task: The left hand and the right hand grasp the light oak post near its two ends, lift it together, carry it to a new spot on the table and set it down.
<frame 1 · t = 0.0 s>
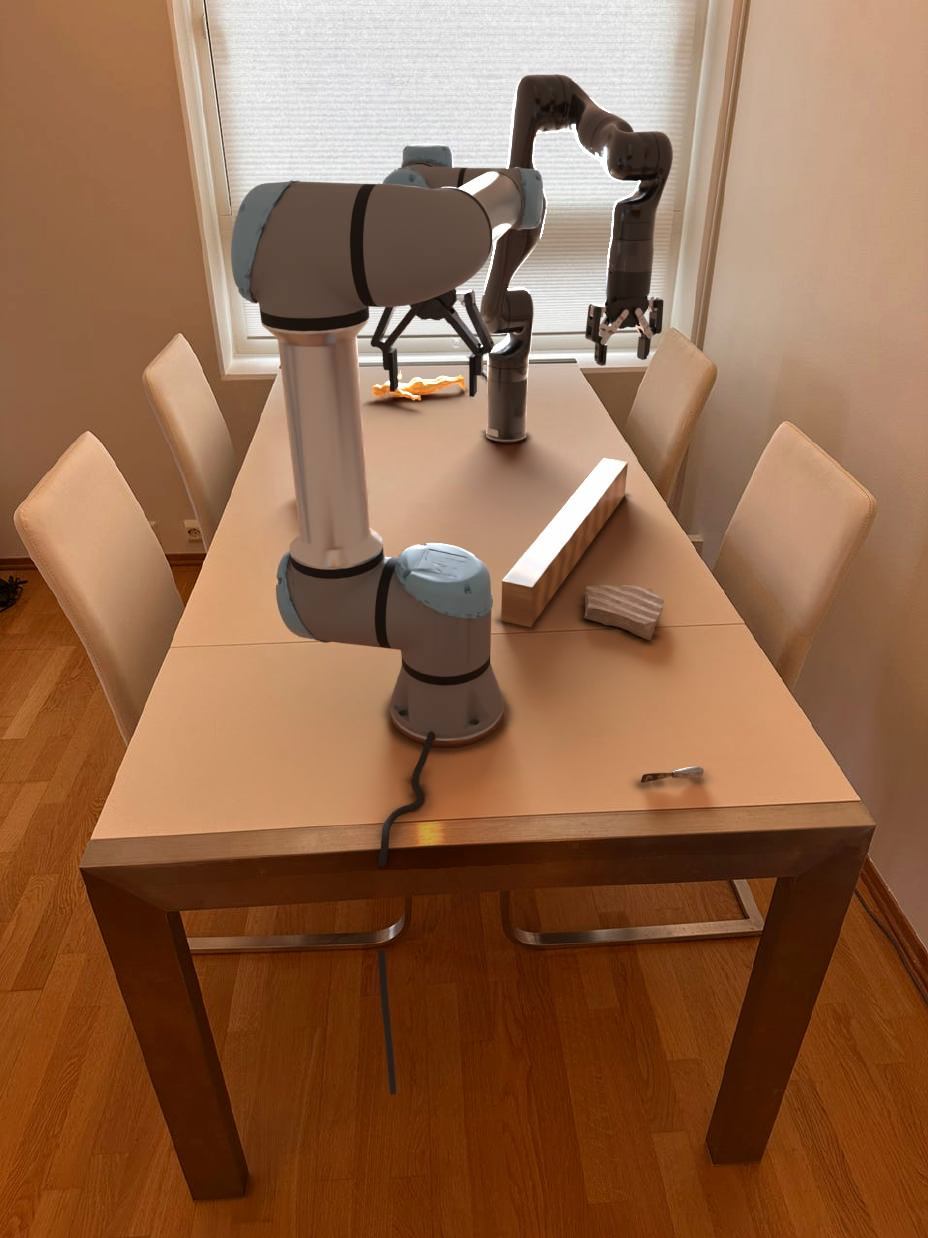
left hand: (433, 391, 149), 28 cm above the table, tool pointing down, fingers open, 13 cm apart
right hand: (621, 361, 160), 29 cm above the table, tool pointing down, fingers open, 8 cm apart
putty knife: (671, 781, 109), on the table
stone: (623, 618, 141), on the table
post: (570, 550, 161), on the table
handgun: (335, 503, 178), on the table
human figure: (418, 394, 236), on the table
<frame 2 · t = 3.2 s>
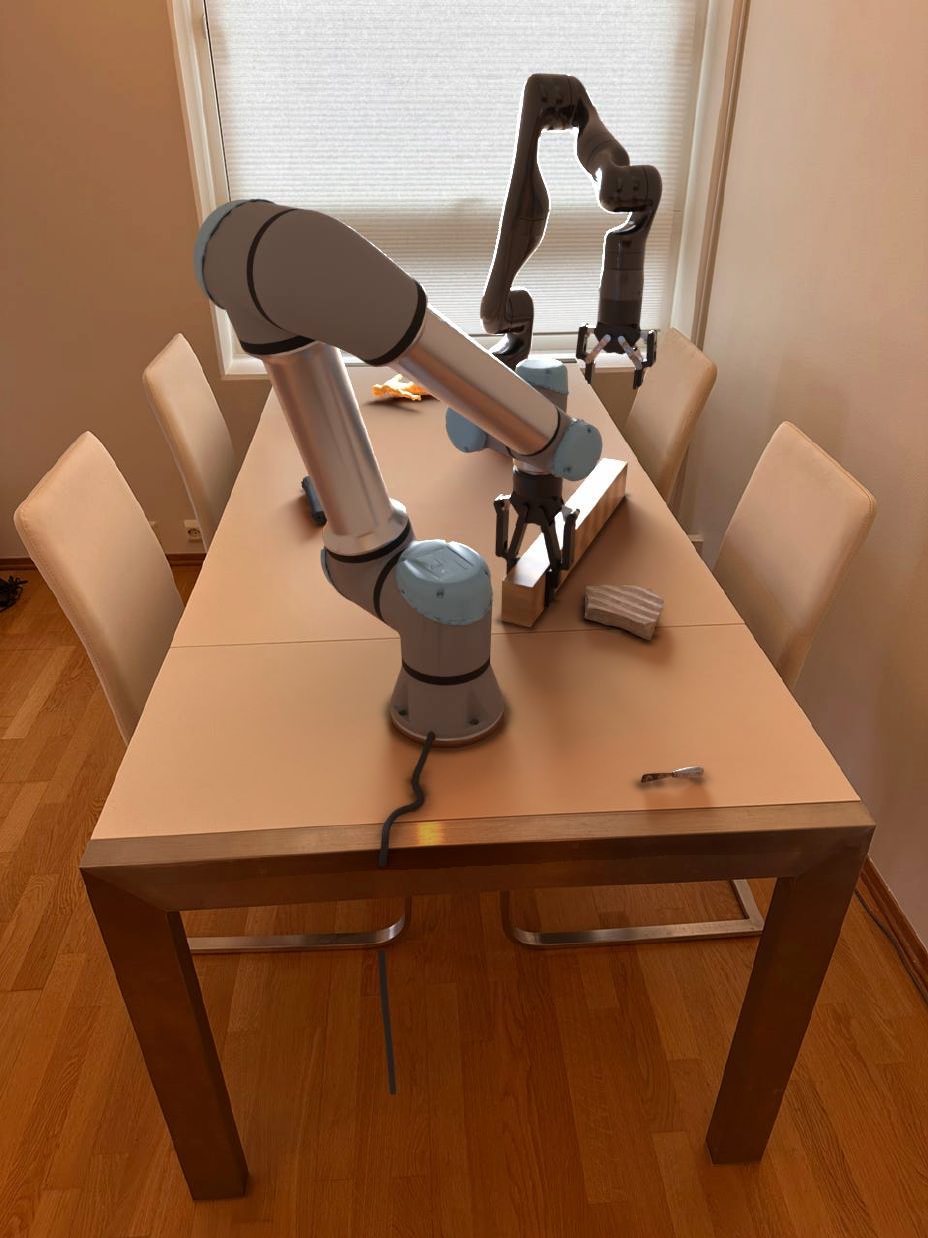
left hand: (532, 599, 145), 0 cm above the table, tool pointing down, fingers closed on post, 5 cm apart
right hand: (613, 385, 163), 24 cm above the table, tool pointing down, fingers open, 8 cm apart
post: (570, 550, 161), on the table, touching left hand
everything else where it was.
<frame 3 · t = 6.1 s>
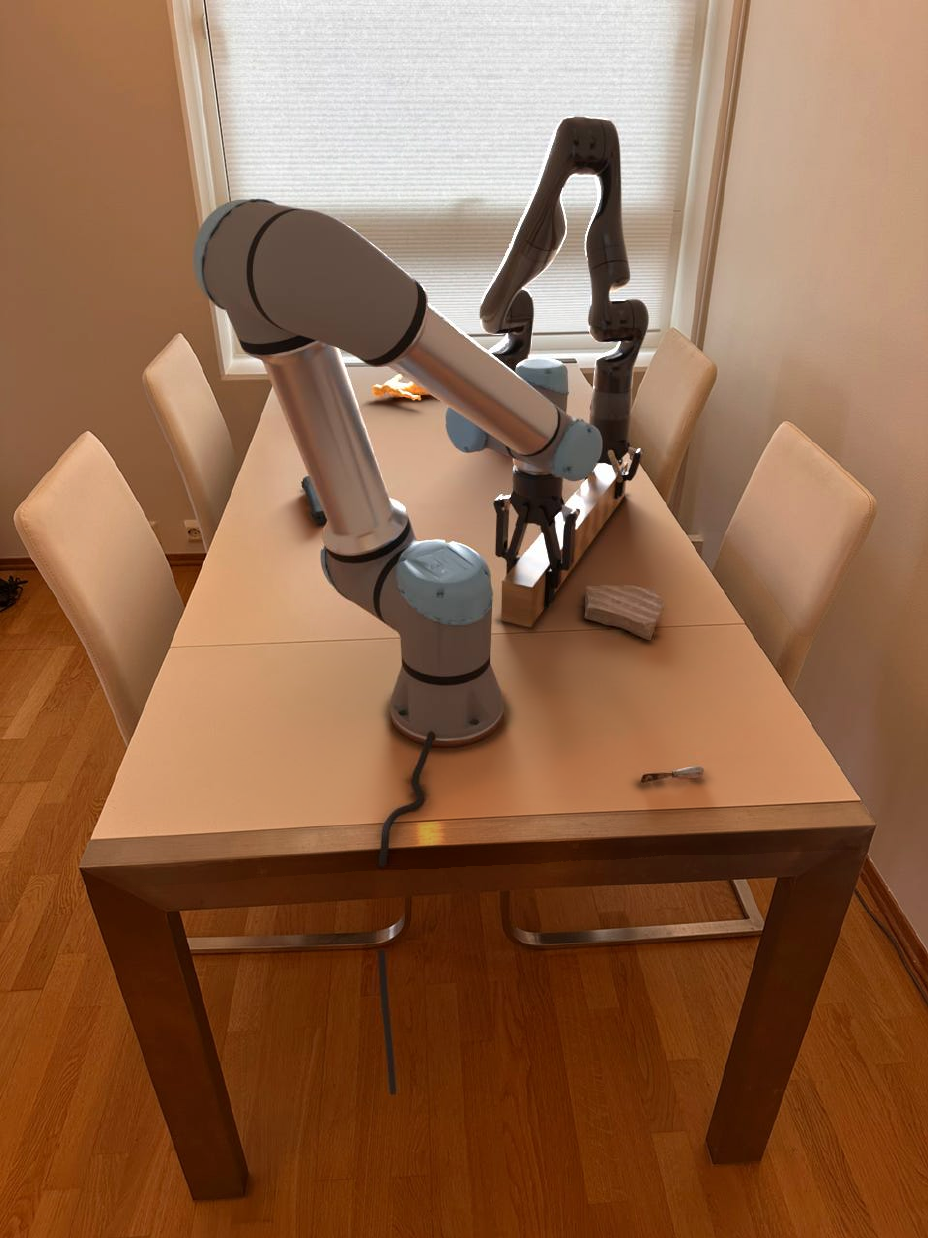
left hand: (532, 599, 145), 0 cm above the table, tool pointing down, fingers closed on post, 5 cm apart
right hand: (603, 495, 175), 3 cm above the table, tool pointing down, fingers closed on post, 5 cm apart
post: (570, 550, 161), on the table, touching left hand, right hand
everything else where it was.
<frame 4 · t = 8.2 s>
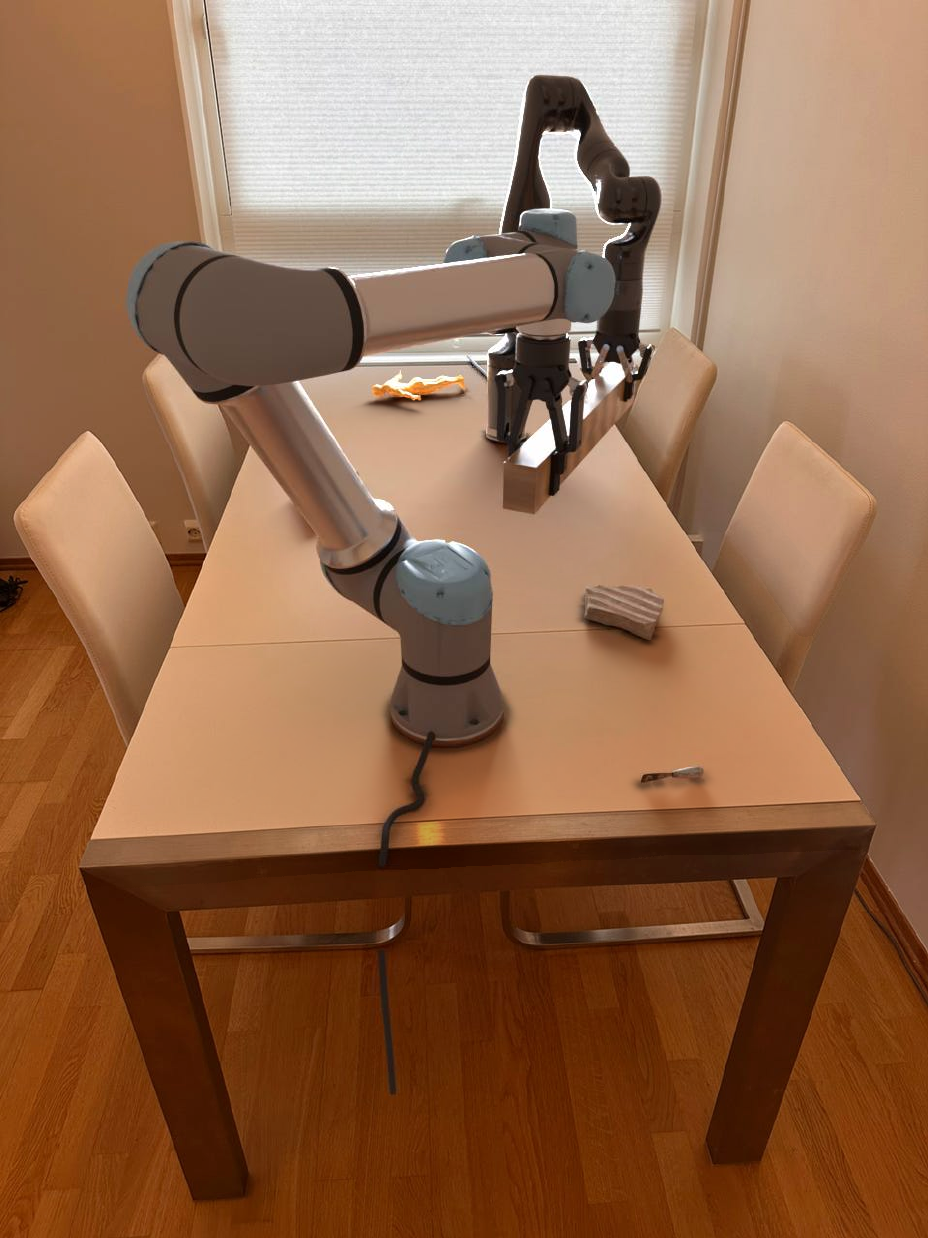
left hand: (536, 489, 135), 20 cm above the table, tool pointing down, fingers closed on post, 5 cm apart
right hand: (611, 398, 165), 22 cm above the table, tool pointing down, fingers closed on post, 5 cm apart
post: (577, 448, 151), point 19 cm above the table, touching left hand, right hand
everything else where it was.
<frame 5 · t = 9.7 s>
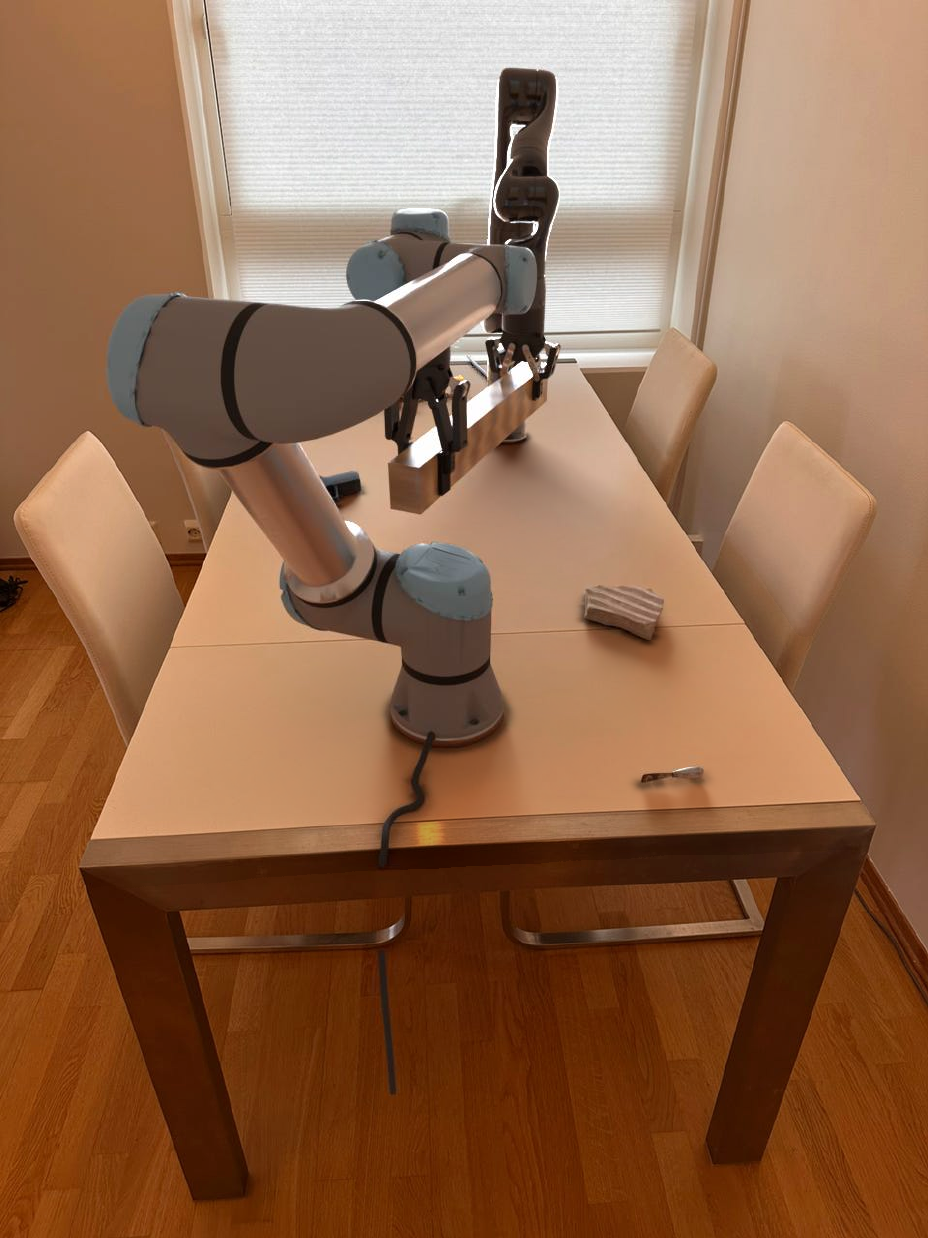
left hand: (427, 488, 135), 20 cm above the table, tool pointing down, fingers closed on post, 5 cm apart
right hand: (521, 397, 165), 22 cm above the table, tool pointing down, fingers closed on post, 5 cm apart
post: (479, 447, 151), point 20 cm above the table, touching left hand, right hand
everything else where it was.
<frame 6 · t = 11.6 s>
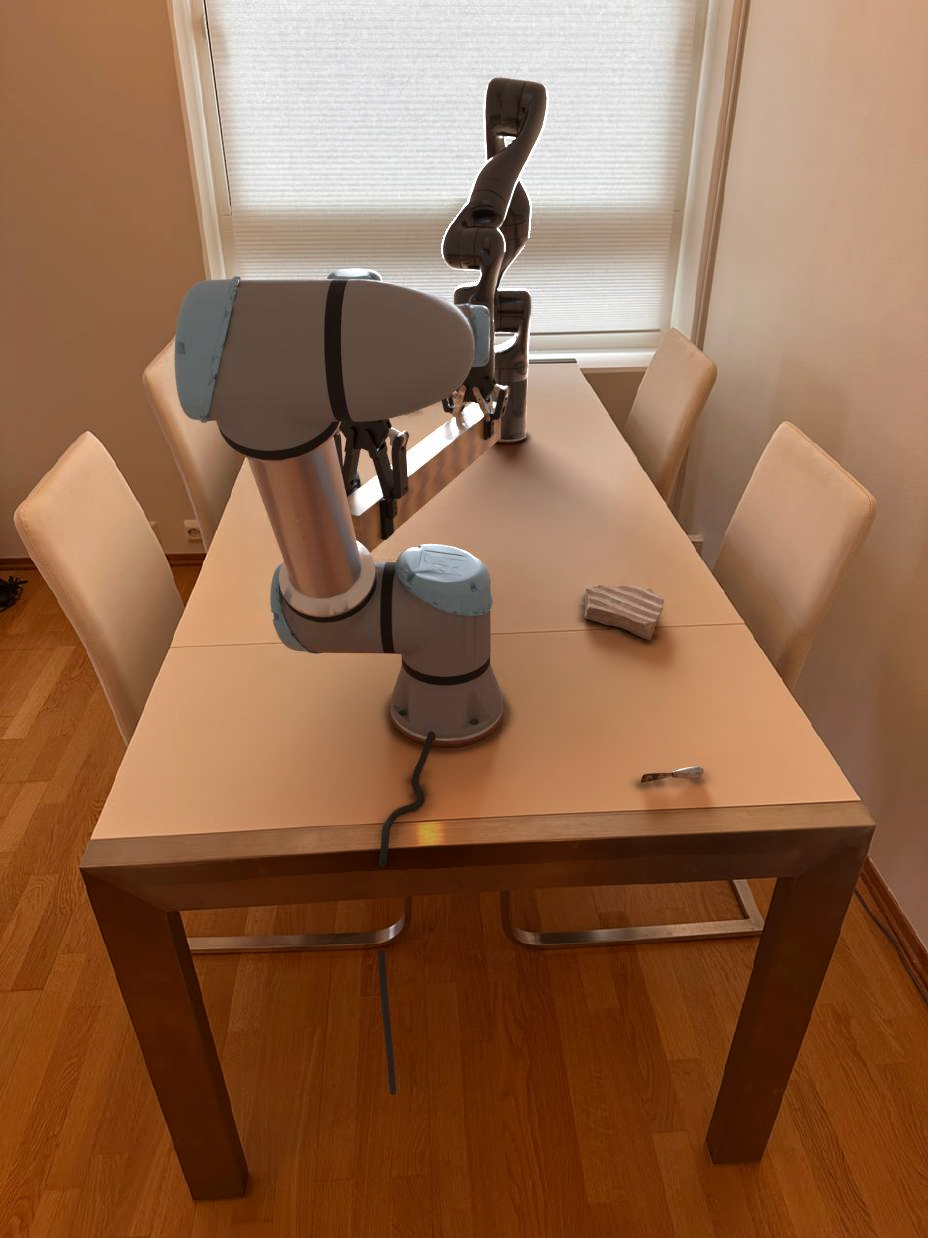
left hand: (371, 532, 139), 13 cm above the table, tool pointing down, fingers closed on post, 5 cm apart
right hand: (473, 436, 169), 15 cm above the table, tool pointing down, fingers closed on post, 5 cm apart
post: (427, 488, 155), point 12 cm above the table, touching left hand, right hand
everything else where it was.
when the left hand's fingers open (2 cm above the table, at t = 13.0 s): post drops 1 cm, on the table.
when the right hand's fingers open (4 cm above the table, at t = 13.2 s): post stays where it is, on the table.
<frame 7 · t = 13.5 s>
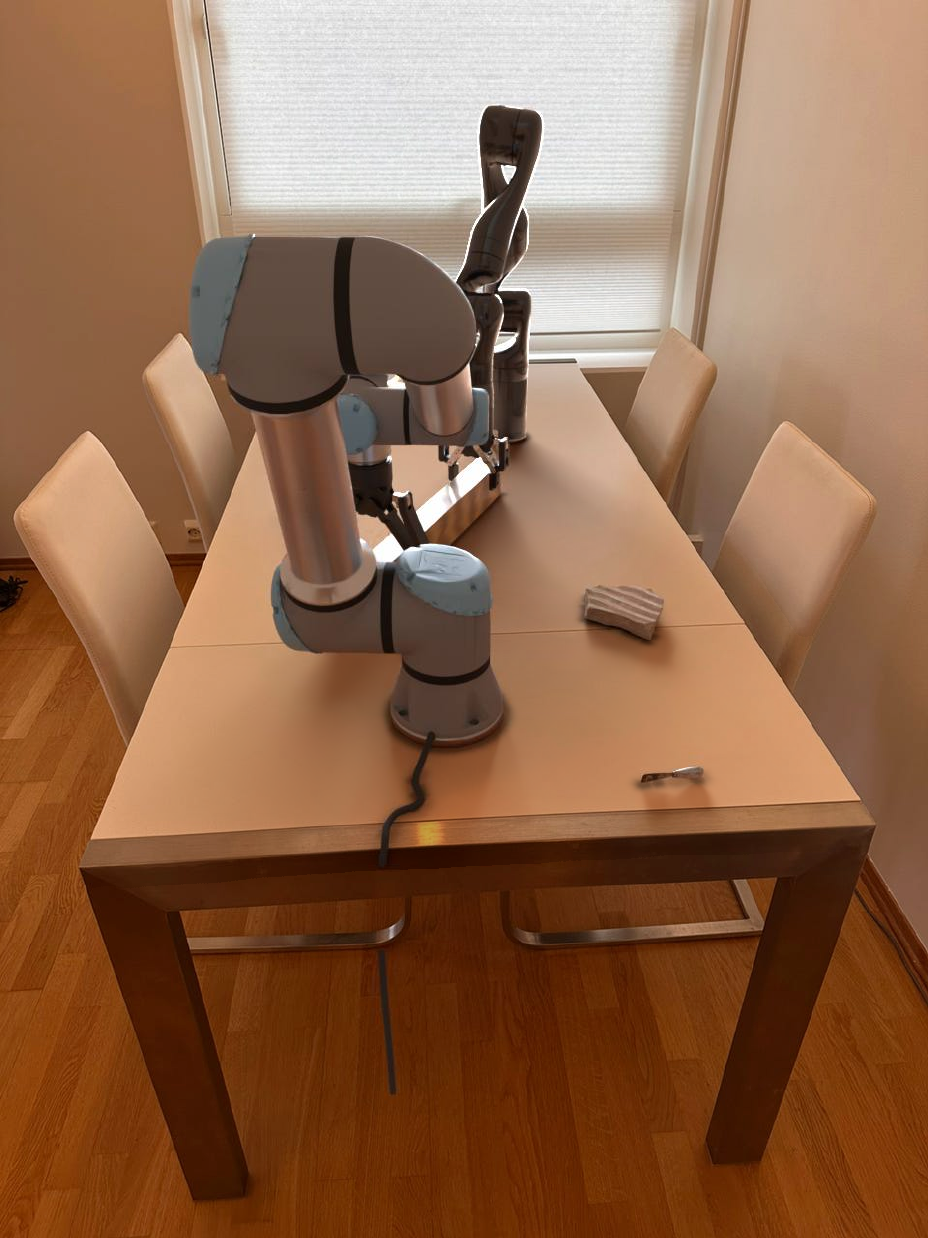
left hand: (374, 582, 144), 4 cm above the table, tool pointing down, fingers open, 12 cm apart
right hand: (473, 485, 174), 5 cm above the table, tool pointing down, fingers open, 7 cm apart
post: (431, 548, 162), on the table
everything else where it was.
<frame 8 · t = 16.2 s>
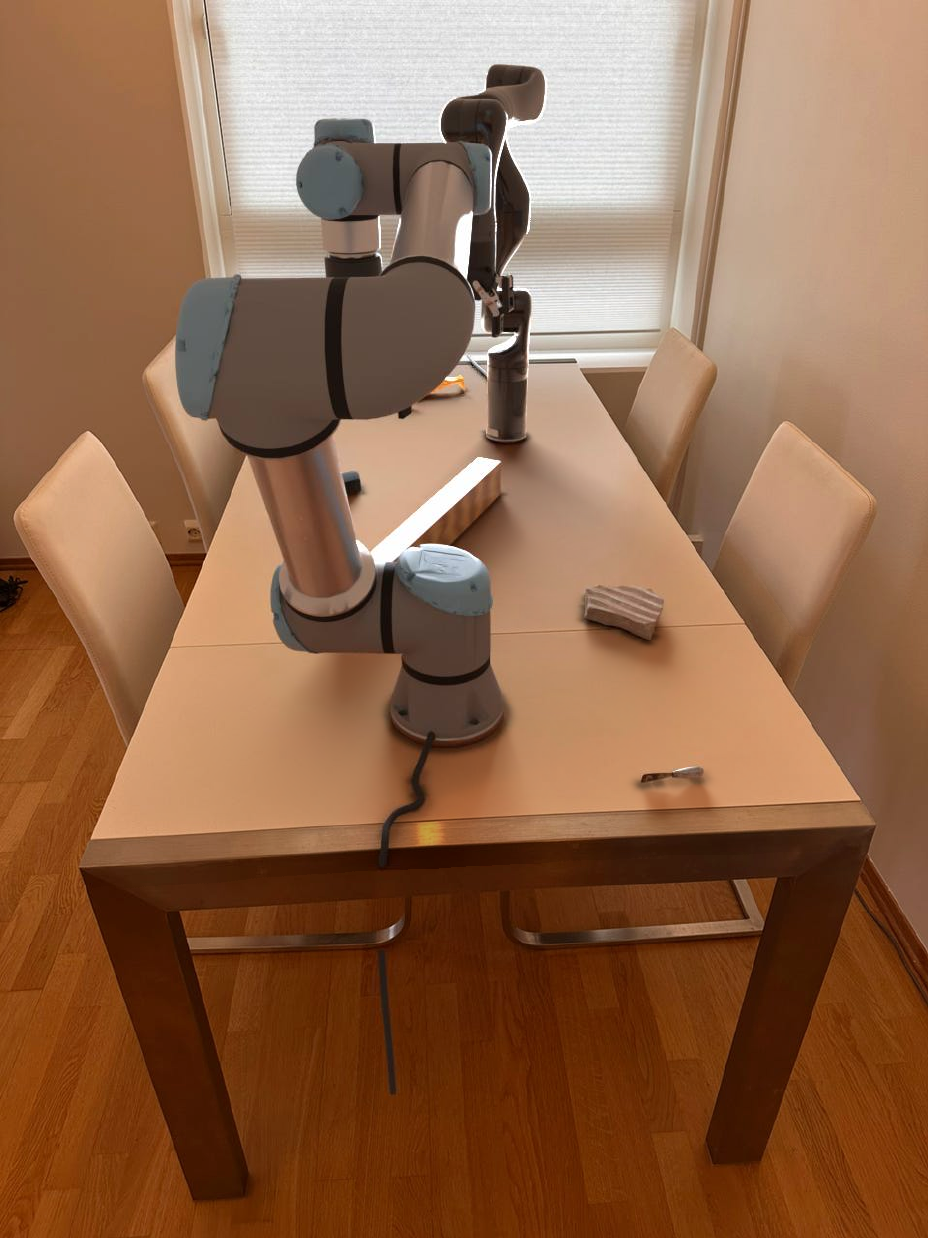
left hand: (363, 409, 129), 32 cm above the table, tool pointing down, fingers open, 13 cm apart
right hand: (473, 334, 158), 34 cm above the table, tool pointing down, fingers open, 8 cm apart
nothing on the table moved.
at the end: post inside the target area (0.8 cm from its centre), on the table; post tilted 0°; post never tilted more than 2° during the clip; both hands held the post at the same time; the left hand is holding nothing; the right hand is holding nothing; post at rest at the end (0.0 cm/s) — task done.
